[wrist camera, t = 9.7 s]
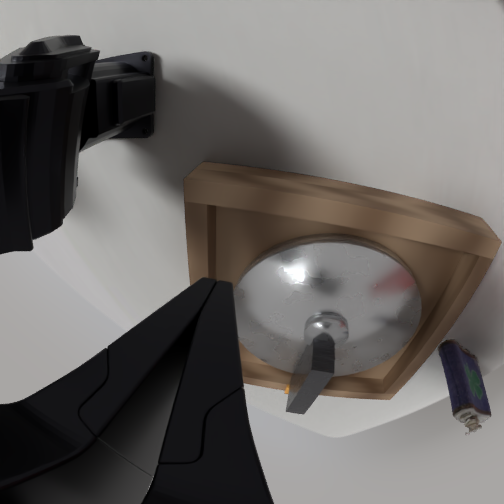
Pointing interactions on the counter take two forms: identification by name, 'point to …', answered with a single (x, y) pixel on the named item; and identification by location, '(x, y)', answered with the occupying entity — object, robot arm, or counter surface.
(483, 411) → the flask
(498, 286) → the counter surface
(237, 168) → the wooden tray
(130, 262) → the counter surface
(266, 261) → the dial
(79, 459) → the robot arm
